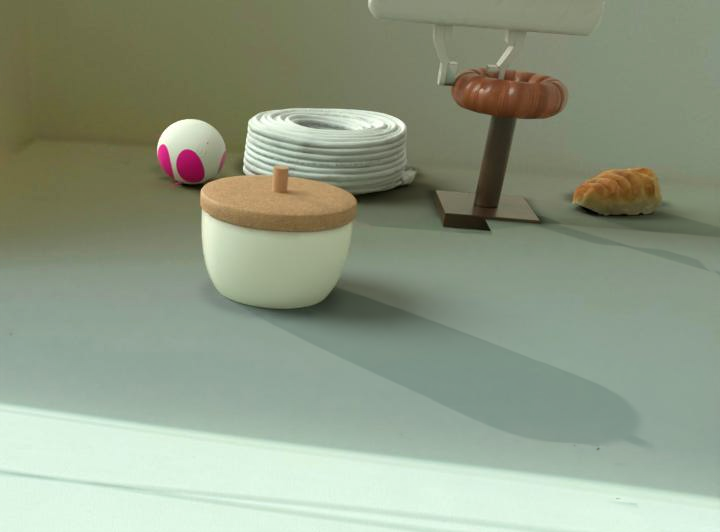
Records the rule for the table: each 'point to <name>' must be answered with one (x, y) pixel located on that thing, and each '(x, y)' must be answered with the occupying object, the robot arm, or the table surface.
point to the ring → (510, 94)
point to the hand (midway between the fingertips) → (468, 86)
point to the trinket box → (275, 238)
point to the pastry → (620, 192)
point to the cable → (330, 147)
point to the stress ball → (191, 151)
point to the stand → (487, 187)
